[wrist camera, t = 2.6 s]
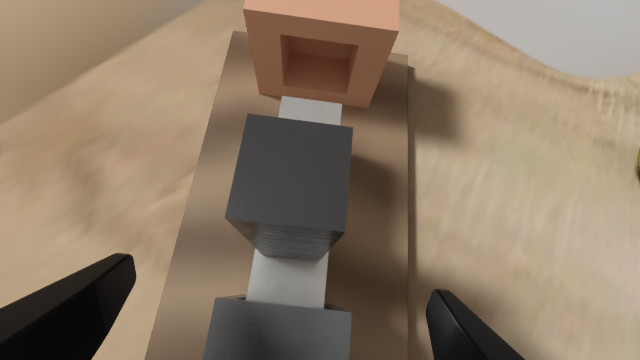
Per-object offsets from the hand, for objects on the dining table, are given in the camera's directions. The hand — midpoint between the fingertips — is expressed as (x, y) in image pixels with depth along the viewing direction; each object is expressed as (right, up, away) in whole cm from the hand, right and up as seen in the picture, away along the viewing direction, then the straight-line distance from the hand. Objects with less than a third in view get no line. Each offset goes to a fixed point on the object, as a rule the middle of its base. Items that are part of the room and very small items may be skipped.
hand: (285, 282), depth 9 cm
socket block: (+1, +11, +14) cm, 18 cm away
